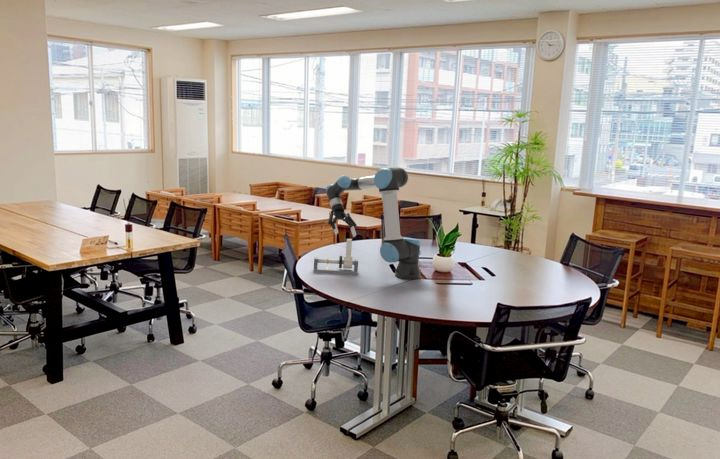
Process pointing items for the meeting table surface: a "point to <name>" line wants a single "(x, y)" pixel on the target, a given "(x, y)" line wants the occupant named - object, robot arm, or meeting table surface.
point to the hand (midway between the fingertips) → (346, 234)
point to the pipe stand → (334, 269)
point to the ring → (340, 262)
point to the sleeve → (348, 255)
